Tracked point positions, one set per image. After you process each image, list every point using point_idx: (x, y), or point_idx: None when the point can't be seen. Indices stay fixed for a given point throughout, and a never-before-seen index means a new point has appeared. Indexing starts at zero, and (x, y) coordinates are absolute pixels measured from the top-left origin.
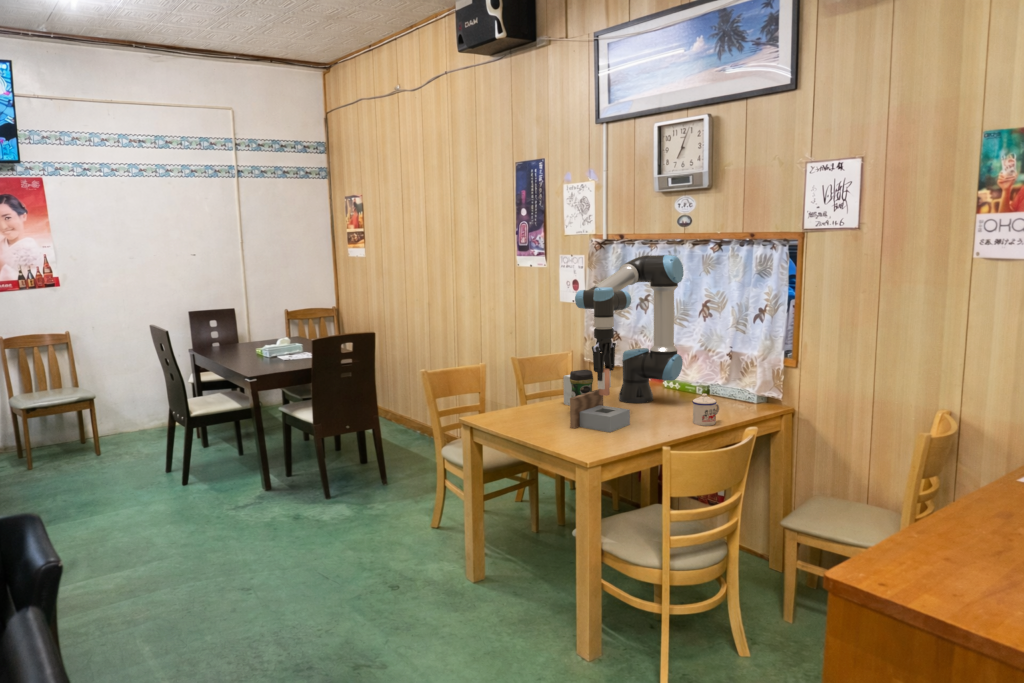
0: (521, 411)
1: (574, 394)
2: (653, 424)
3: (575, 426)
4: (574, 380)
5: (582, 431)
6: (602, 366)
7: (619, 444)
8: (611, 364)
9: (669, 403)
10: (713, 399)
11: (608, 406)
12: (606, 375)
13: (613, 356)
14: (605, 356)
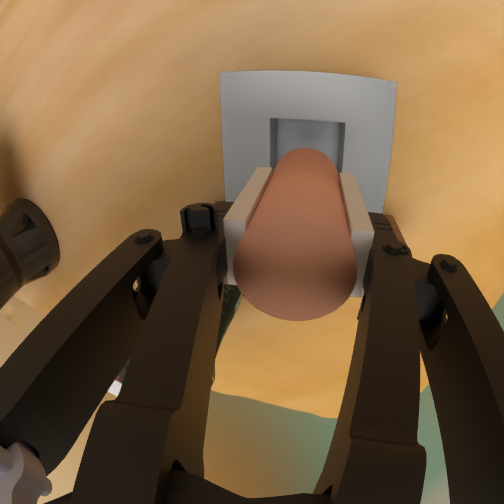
0: (281, 390)
1: (221, 340)
2: (179, 20)
3: (390, 218)
4: (212, 381)
5: (408, 179)
6: (403, 284)
7: (473, 13)
8: (172, 258)
9: (6, 155)
10: None
11: (225, 182)
12: (330, 202)
13: (72, 319)
14: (201, 403)
